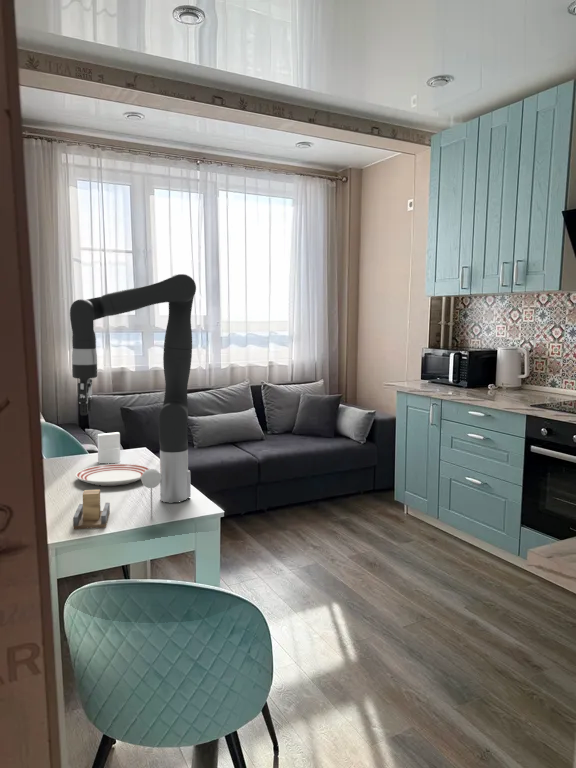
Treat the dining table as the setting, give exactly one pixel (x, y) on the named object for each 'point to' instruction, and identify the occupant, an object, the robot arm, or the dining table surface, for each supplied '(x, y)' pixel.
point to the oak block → (91, 505)
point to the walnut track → (86, 524)
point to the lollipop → (151, 480)
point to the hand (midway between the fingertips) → (85, 413)
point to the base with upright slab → (109, 447)
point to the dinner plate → (112, 474)
